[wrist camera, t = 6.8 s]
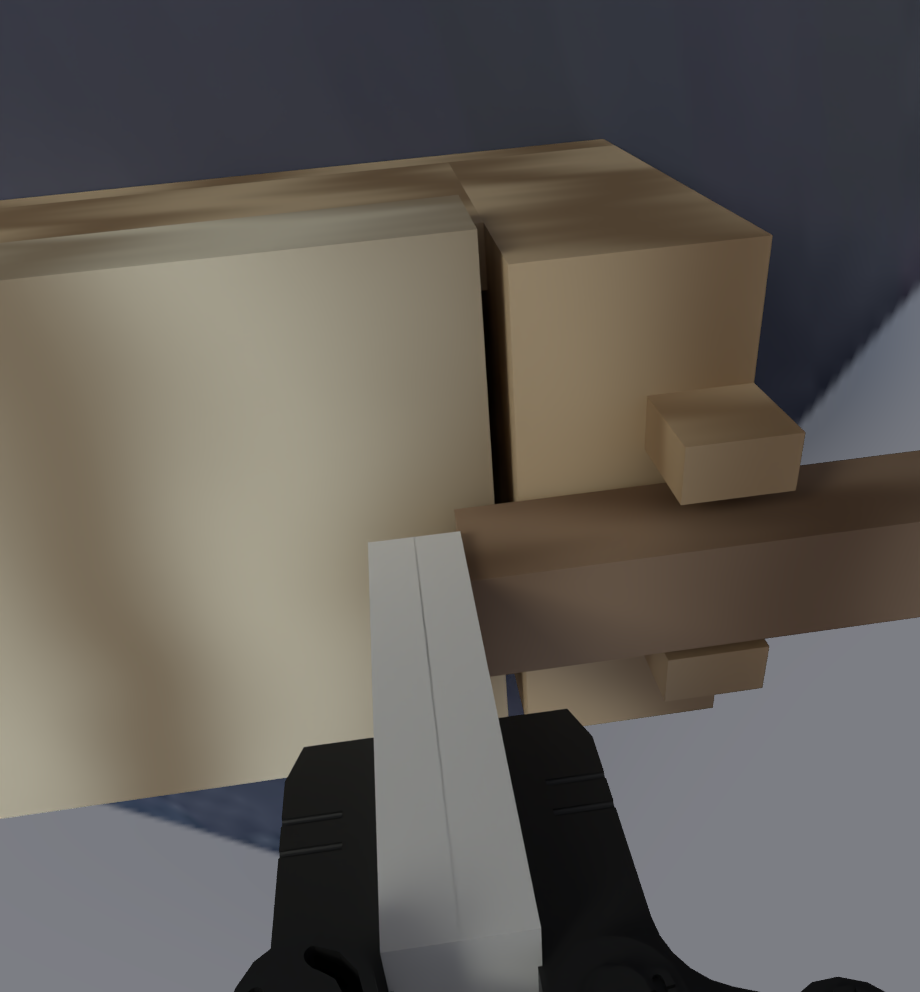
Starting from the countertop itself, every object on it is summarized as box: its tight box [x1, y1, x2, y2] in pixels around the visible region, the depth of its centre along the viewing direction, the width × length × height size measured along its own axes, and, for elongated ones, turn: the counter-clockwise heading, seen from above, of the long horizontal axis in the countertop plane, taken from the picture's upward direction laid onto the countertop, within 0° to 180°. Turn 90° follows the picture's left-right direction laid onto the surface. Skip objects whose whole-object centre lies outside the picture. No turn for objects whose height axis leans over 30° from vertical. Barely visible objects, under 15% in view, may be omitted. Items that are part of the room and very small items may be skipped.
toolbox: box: [0, 139, 805, 726], centre depth 18 cm, size 20×10×11 cm, turn 94°
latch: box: [454, 450, 920, 677], centre depth 14 cm, size 10×2×2 cm, turn 94°
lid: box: [0, 195, 508, 819], centre depth 16 cm, size 15×11×4 cm
